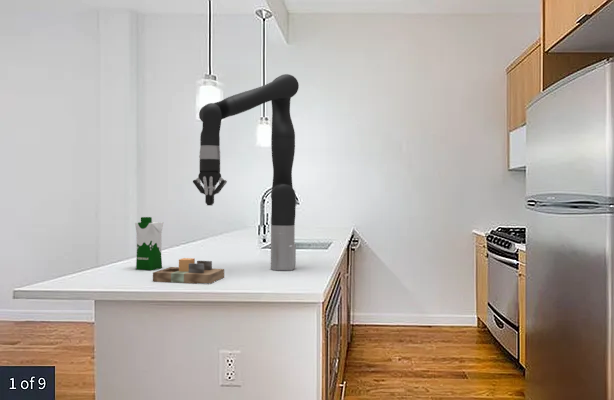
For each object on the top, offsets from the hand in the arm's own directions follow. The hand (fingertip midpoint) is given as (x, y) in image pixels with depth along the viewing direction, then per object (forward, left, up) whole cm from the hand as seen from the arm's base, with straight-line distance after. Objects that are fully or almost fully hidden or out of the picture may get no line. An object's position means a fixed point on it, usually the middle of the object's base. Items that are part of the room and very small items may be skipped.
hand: (209, 205), depth 206 cm
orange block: (+2, +16, -22) cm, 27 cm away
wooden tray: (+1, +16, -25) cm, 30 cm away
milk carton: (+26, -4, -25) cm, 36 cm away
